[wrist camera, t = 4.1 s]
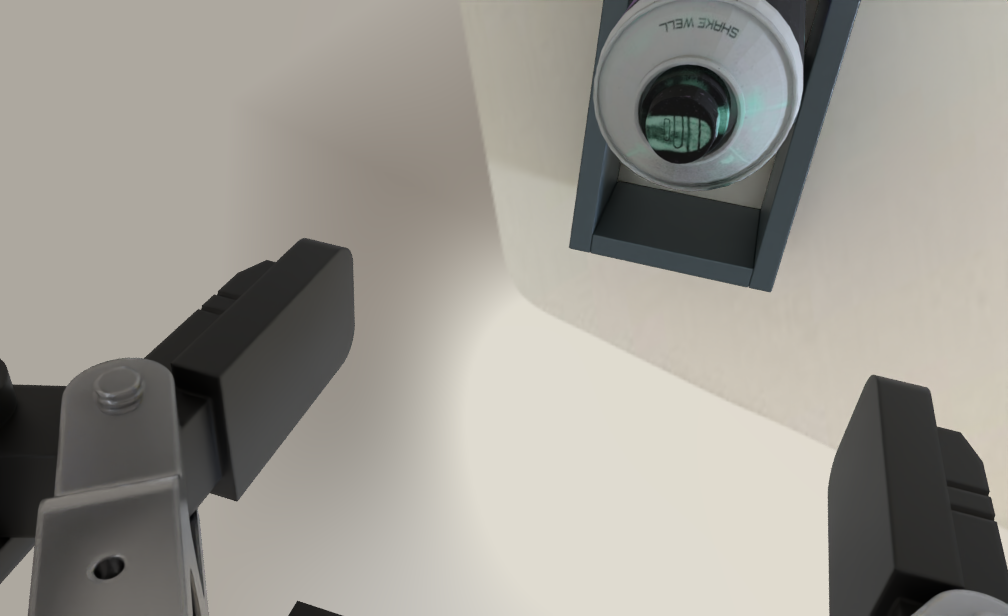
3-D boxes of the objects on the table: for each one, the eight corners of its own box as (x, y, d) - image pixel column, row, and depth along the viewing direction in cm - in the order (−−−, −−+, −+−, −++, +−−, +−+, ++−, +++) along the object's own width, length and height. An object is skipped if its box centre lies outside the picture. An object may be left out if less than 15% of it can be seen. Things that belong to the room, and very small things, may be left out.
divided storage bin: (595, 194, 44) (568, 248, 39) (650, -166, 35) (624, -152, 30) (776, 231, 42) (770, 293, 37) (885, -138, 33) (897, -118, 28)
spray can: (831, -19, 36) (845, 171, 20) (715, 51, 38) (644, 267, 22) (766, -138, 34) (724, -37, 18) (650, -55, 37) (525, 96, 21)
